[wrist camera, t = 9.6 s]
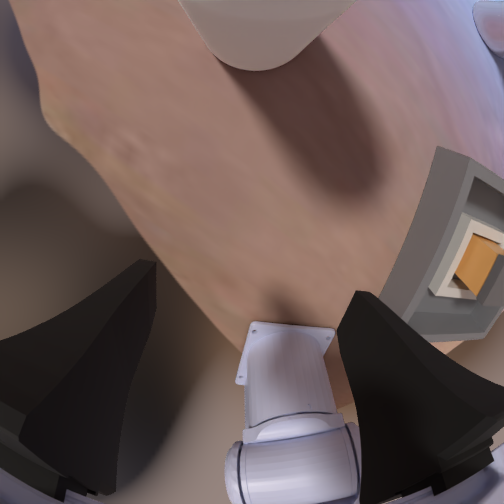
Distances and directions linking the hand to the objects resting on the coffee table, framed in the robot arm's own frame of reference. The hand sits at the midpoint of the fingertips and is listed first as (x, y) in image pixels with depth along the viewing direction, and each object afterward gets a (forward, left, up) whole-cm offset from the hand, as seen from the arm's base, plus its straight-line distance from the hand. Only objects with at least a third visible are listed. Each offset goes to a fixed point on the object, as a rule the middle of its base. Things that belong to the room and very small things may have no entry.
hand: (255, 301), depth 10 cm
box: (0, -21, -10) cm, 24 cm away
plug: (0, -21, -10) cm, 23 cm away
